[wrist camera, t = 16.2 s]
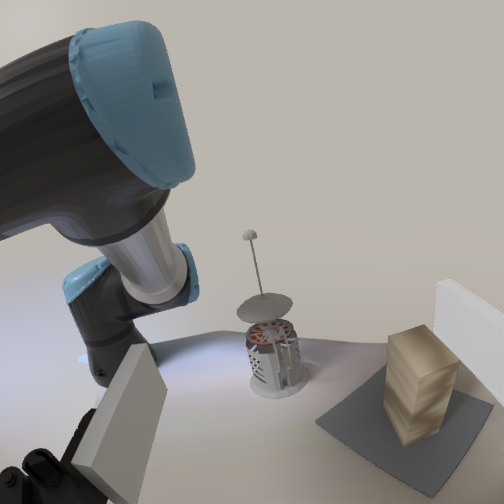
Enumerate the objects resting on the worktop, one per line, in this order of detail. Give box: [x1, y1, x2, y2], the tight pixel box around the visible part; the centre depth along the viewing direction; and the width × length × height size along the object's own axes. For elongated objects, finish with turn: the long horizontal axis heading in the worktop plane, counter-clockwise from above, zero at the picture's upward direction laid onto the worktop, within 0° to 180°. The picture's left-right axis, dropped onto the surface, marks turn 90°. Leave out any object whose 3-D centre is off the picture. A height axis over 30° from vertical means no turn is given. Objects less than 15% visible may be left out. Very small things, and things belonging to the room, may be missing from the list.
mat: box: [316, 364, 493, 498], centre depth 29 cm, size 20×16×1 cm
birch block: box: [383, 325, 460, 447], centre depth 27 cm, size 5×8×12 cm, turn 1°
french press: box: [237, 230, 309, 399], centre depth 41 cm, size 10×12×25 cm
